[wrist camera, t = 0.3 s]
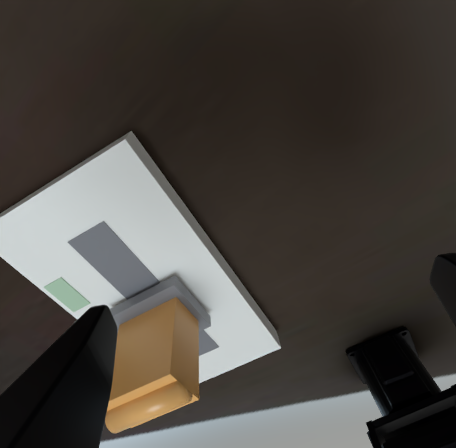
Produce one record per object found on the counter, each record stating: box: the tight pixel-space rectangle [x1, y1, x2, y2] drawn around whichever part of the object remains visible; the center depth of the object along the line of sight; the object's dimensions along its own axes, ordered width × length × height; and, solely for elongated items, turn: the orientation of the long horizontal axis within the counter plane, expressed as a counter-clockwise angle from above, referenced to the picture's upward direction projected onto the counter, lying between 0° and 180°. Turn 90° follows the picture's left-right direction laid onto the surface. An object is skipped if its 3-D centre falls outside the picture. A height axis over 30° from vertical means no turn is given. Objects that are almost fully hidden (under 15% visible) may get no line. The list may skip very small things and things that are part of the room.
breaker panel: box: [0, 131, 281, 383], centre depth 25 cm, size 22×12×2 cm, turn 29°
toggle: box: [105, 276, 211, 433], centre depth 21 cm, size 5×6×8 cm
